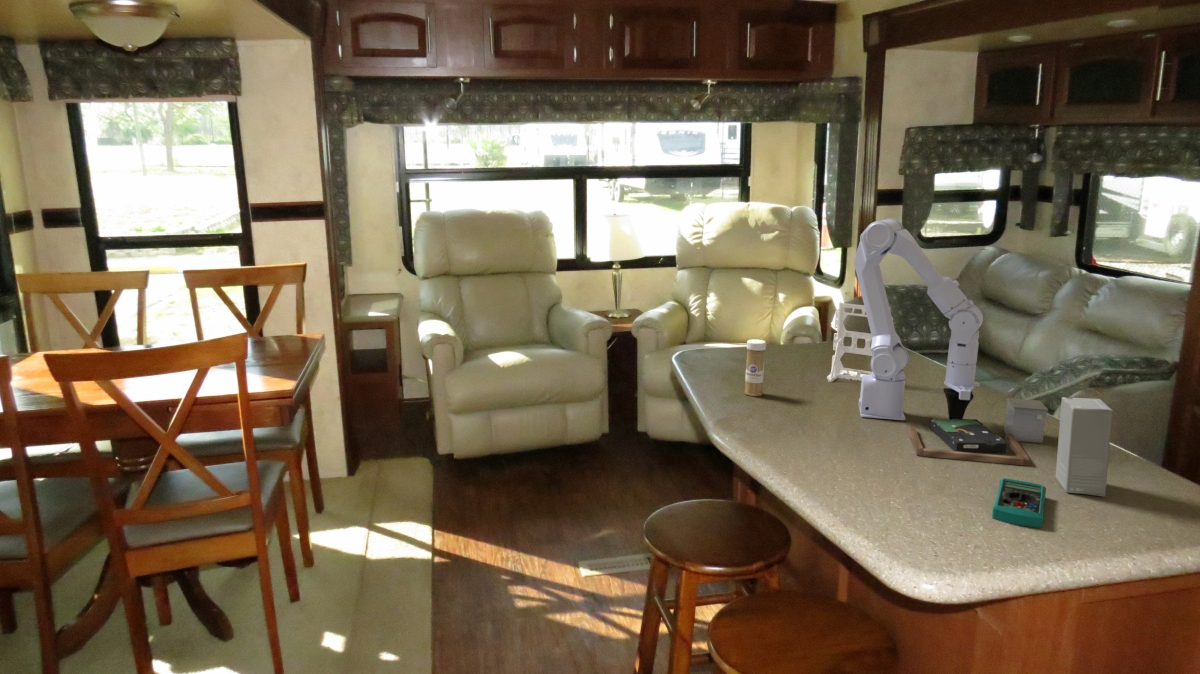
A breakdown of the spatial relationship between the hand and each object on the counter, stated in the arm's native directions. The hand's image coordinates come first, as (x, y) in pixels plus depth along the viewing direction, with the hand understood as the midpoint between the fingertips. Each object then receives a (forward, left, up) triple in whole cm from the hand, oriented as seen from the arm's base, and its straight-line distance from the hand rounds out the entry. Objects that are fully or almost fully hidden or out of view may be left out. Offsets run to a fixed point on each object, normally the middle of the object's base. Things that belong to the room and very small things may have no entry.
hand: (954, 422), depth 179 cm
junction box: (+13, -3, -1) cm, 13 cm away
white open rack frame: (-18, +34, -1) cm, 38 cm away
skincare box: (+16, -29, -1) cm, 33 cm away
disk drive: (+1, -9, -2) cm, 9 cm away
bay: (0, -13, -1) cm, 13 cm away
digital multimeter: (+4, -42, -2) cm, 42 cm away
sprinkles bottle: (-44, +13, -1) cm, 46 cm away
